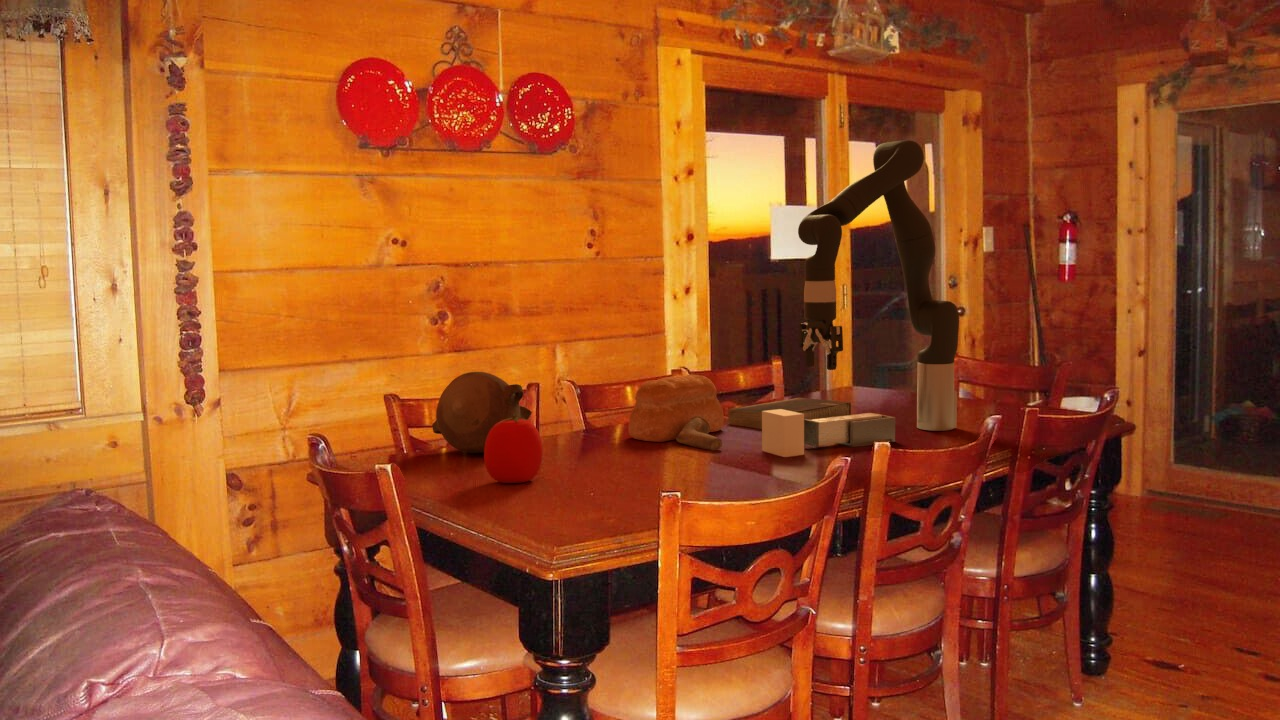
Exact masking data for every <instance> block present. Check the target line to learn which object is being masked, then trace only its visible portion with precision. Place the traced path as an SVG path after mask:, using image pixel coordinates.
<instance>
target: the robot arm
mask: <svg viewBox="0 0 1280 720" xmlns="http://www.w3.org/2000/svg"><path fill="white" fill-rule="evenodd" d="M924 159H925V156H924V151H923V149H922V147H921V145H920V144H919V143H918V142H916V141H914V140H909V139H904V140H903V139H902V140H897V141H896V140H894V141H888V142H883V143H880V144H878V145H877V146H876V148H875V149H874V152H873V159H872V161H873V163H872V164H873V168H874V169H873V170H874V171H873V172H871V173H870V174H867V175H866V176H863V177H862V178H859V179H858V180H856V181H854V182H853V183H851V184H849V185H848V186H846V187H845V188H844V189H843V190H842V191H840V192H839V193H838V194H837V195H836V196H835V197H833V198H832V199H831V200H830V201H829V202H827V203H825V204H823V205H821V206H820V207H818V208H816V209H814V210H812V211H811V212H809V213H808V214H807V215H806V216H804V217H803V219H802V220H801V221H800V222H799V225H798V228H797V229H798V230H797V233H798V238H799V240H800V241H801V242H802V243H804V244H806V245H810V246H816V250H815V252H814V254H813V255H811V256H808V257H807V258H806V259H805V262H804V263H805V264H804V288H803V289H804V290H803V318H804V320H805V321H807V322H803V323H802V322H801V323H799V325H798V348H801V349H802V350H803V351H804V366H805V367H808V368H809V367H810V368H811V367H815V350H814V349H815V348H816V346H817V345H818V344H821V345H822V347H823V348H825V351H826V353H827V354H826V370H828V371H833V370H834V371H835V370H836V369H837V367H838V365H837V364H838V363H837V361H838V360H837V359H838V354H839V353H840V352H842V351H844V339H843V337H844V334H843V326H842V325H834V323H833V321H835V320H836V319H837V286H836V261H837V258H838V255H839V249H840V245H841V243H842V242H841V241H842V238H843V237H842V236H843V228H842V227H843V226H847V225H849V224H850V223H852V222H853V221H855V219H856V218H857V217H859V216H860V215H861V214H862V213H863V212H864V211H865V210H866V209H867V208H869V206H871V205H872V204H873V203H875V202H876V201H877V200H879V199H880V198H881V197H883V198H884V202H885V205H886V209H887V212H888V215H889V218H890V224H891V226H892V231H893V236H894V241H895V246H896V248H897V249H896V250H897V253H898V256H899V257H898V258H899V259H900V264H901V269H902V273H903V278H904V282H905V289H906V295H907V303H908V304H907V305H908V310H909V311H908V312H909V316H910V321H911V325H912V327H913V329H914V330H915V331H916V333H918V334H920V335H922V336H928V337H930V336H931V338H930V344H929V345H928V346H927V347H926V348H924V349H921V350H919V351H918V352H917V365H916V366H917V368H916V369H917V371H916V373H917V377H916V379H917V380H916V385H917V386H916V388H917V391H916V428H917V429H919V430H924V431H935V432H937V431H938V432H939V431H941V432H942V431H943V432H944V431H950V430H953V429H956V428H957V419H958V418H957V417H958V416H957V415H958V414H957V413H958V412H957V409H958V403H957V402H958V392H957V391H956V390H955V358H956V354H957V351H958V345H959V330H960V328H959V327H960V314H959V310H958V307H957V306H956V305H955V304H954V302H953V301H948V300H940V299H939V300H936V299H935V300H934V299H933V296H932V294H931V292H932V291H931V287H930V281H929V278H930V274H931V273H930V272H931V270H932V266H933V263H934V260H935V256H936V243H935V240H934V234H933V231H932V230H933V229H932V227H931V224H930V222H929V220H928V218H927V217H926V216H925V214H924V213H923V211H922V210H921V209H920V208H919V207H918V206H917V204H916V203H915V201H913V200H912V198H911V196H910V194H909V191H908V190H907V186H906V183H905V181H907V180H909V179H911V178H912V177H914V176H915V175H917V174H918V173H919V172H920V171H921V169H922V167H923V165H924V161H925V160H924ZM804 338H805V339H804Z"/></svg>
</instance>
